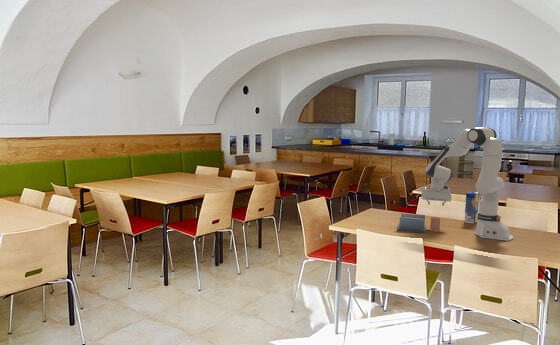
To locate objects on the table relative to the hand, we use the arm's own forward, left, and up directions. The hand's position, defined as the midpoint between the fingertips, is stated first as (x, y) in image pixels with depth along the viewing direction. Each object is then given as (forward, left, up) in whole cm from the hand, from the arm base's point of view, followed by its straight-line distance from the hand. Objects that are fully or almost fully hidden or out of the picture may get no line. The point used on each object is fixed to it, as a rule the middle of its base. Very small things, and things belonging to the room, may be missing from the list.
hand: (435, 204), depth 303 cm
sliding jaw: (+12, +10, -14) cm, 21 cm away
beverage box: (-14, -35, -16) cm, 41 cm away
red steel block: (-4, +12, -16) cm, 20 cm away
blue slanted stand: (+10, +17, -16) cm, 25 cm away
